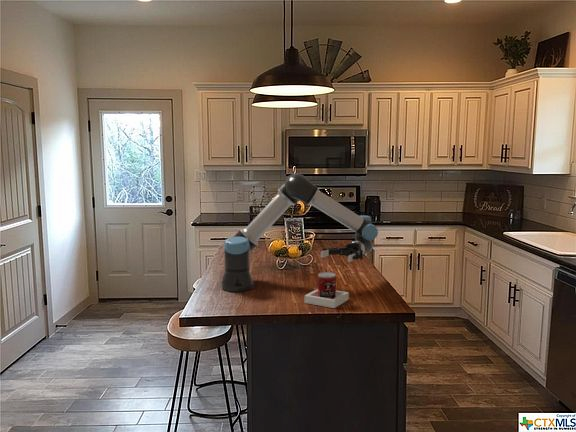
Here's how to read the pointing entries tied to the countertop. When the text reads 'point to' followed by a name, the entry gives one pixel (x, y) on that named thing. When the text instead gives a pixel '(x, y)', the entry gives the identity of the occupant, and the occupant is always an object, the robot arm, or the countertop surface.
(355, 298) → the countertop surface
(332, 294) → the canned food
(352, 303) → the countertop surface
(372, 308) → the countertop surface
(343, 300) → the tray
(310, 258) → the countertop surface
